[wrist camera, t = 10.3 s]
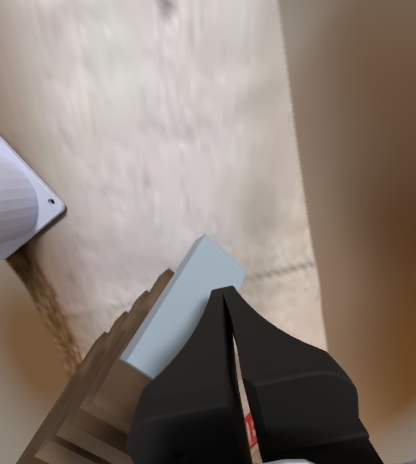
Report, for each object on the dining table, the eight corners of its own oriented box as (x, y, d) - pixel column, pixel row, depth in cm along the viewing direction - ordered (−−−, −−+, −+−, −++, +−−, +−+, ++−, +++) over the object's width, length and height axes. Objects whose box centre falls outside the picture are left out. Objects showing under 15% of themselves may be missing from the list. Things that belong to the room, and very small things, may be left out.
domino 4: (197, 307, 20) (154, 450, 11) (159, 276, 19) (79, 407, 10) (208, 300, 19) (171, 448, 10) (168, 268, 18) (91, 402, 9)
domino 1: (134, 366, 22) (78, 519, 12) (95, 340, 21) (1, 486, 11) (143, 357, 21) (94, 507, 12) (104, 331, 20) (16, 472, 11)
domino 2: (154, 347, 21) (112, 493, 11) (115, 320, 20) (34, 456, 10) (163, 338, 21) (130, 480, 11) (125, 310, 20) (51, 440, 10)
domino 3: (175, 328, 20) (133, 474, 11) (136, 299, 19) (55, 434, 10) (185, 320, 20) (151, 467, 11) (146, 290, 19) (70, 424, 10)
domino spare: (234, 274, 19) (184, 401, 12) (195, 240, 18) (119, 358, 11) (246, 270, 18) (198, 407, 11) (205, 233, 17) (126, 360, 10)
